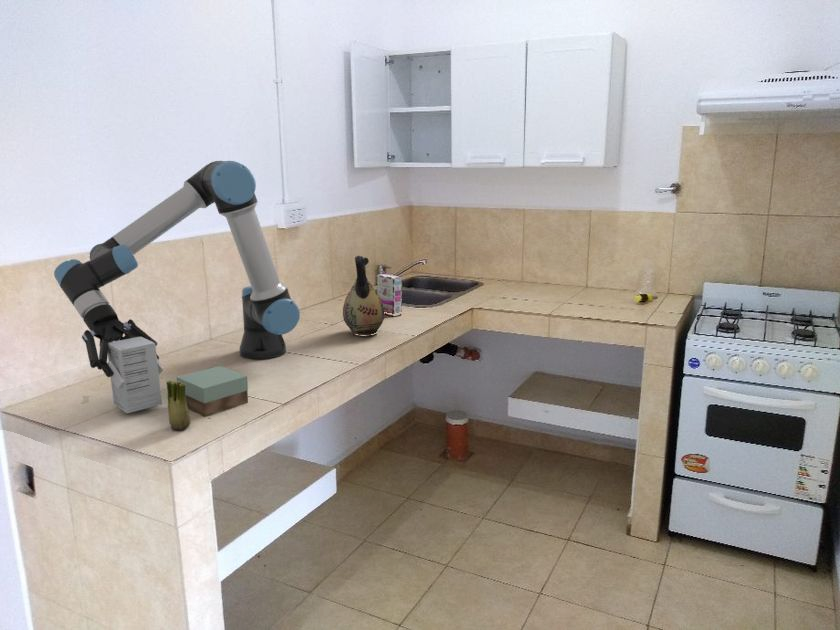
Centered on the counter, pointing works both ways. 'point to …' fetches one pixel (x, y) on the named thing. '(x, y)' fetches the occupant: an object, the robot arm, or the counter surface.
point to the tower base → (216, 404)
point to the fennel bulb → (177, 406)
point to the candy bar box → (390, 292)
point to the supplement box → (135, 374)
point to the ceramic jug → (363, 303)
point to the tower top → (213, 384)
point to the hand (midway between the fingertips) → (141, 378)
